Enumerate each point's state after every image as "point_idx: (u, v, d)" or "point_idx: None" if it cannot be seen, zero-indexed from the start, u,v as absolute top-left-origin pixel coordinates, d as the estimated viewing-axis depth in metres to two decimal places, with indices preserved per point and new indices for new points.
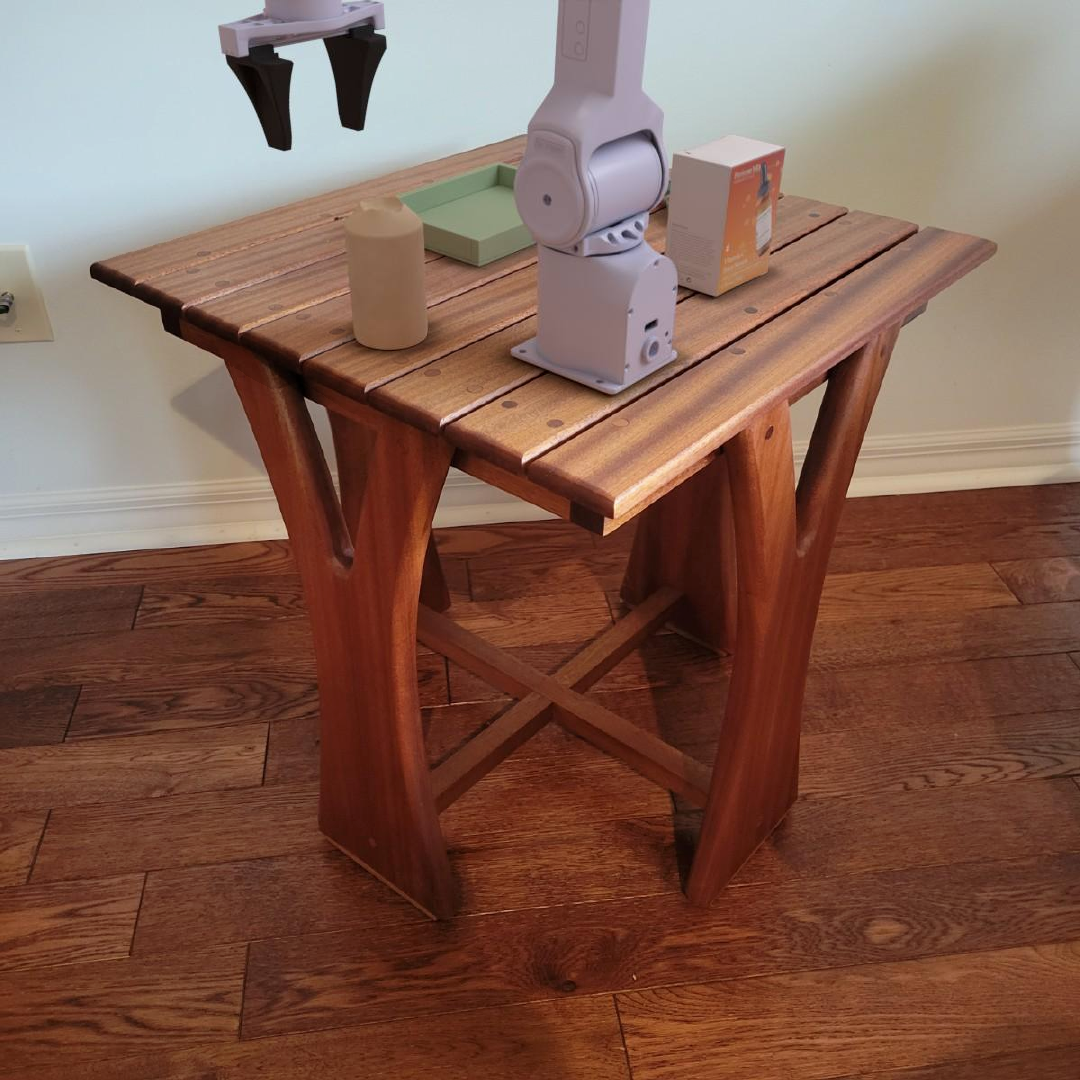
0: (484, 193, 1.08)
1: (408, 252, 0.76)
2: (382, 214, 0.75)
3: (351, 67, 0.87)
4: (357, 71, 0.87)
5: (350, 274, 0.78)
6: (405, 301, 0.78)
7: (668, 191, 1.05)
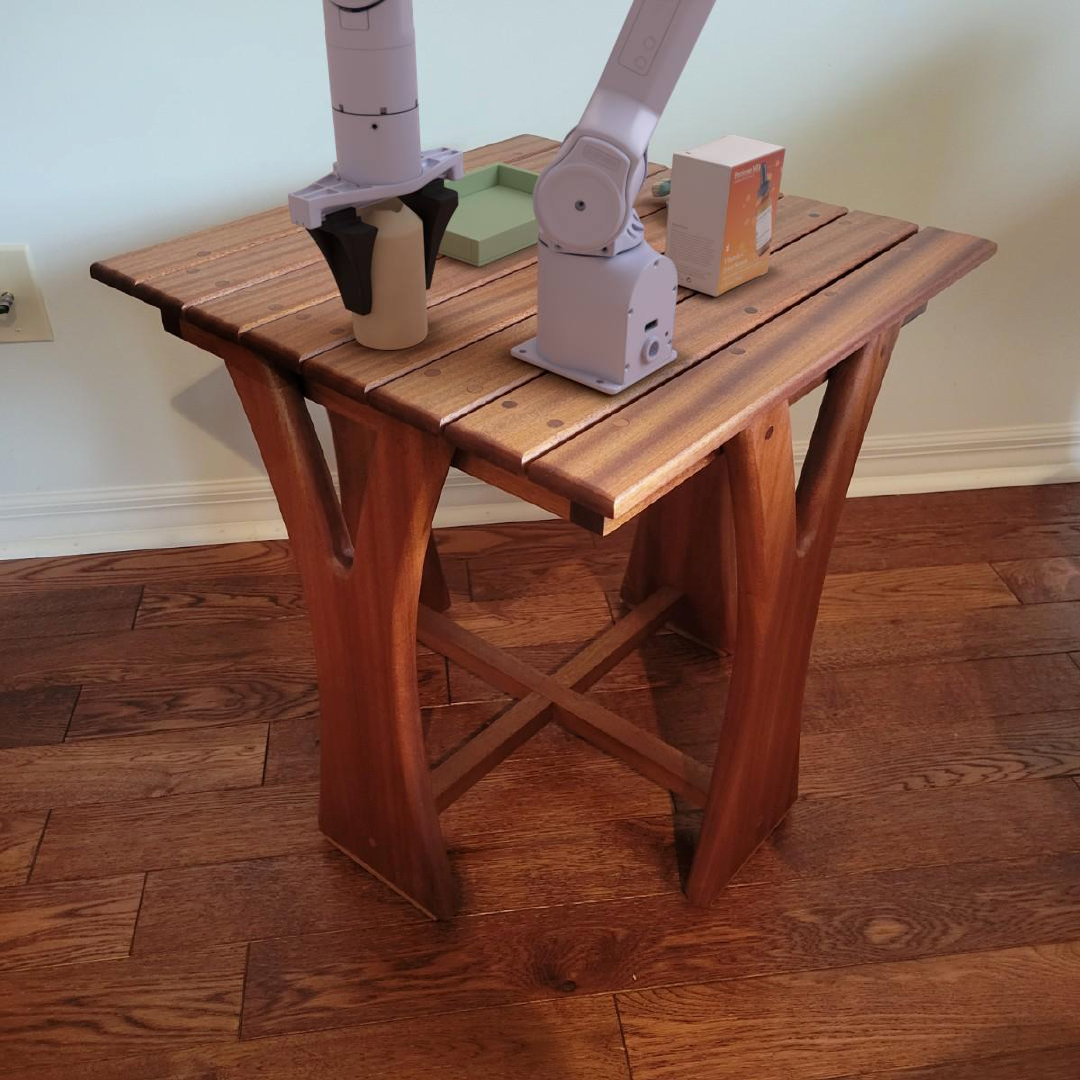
0: (484, 193, 1.08)
1: (408, 252, 0.76)
2: (382, 214, 0.75)
3: None
4: (425, 230, 0.79)
5: None
6: (405, 302, 0.78)
7: (668, 191, 1.05)
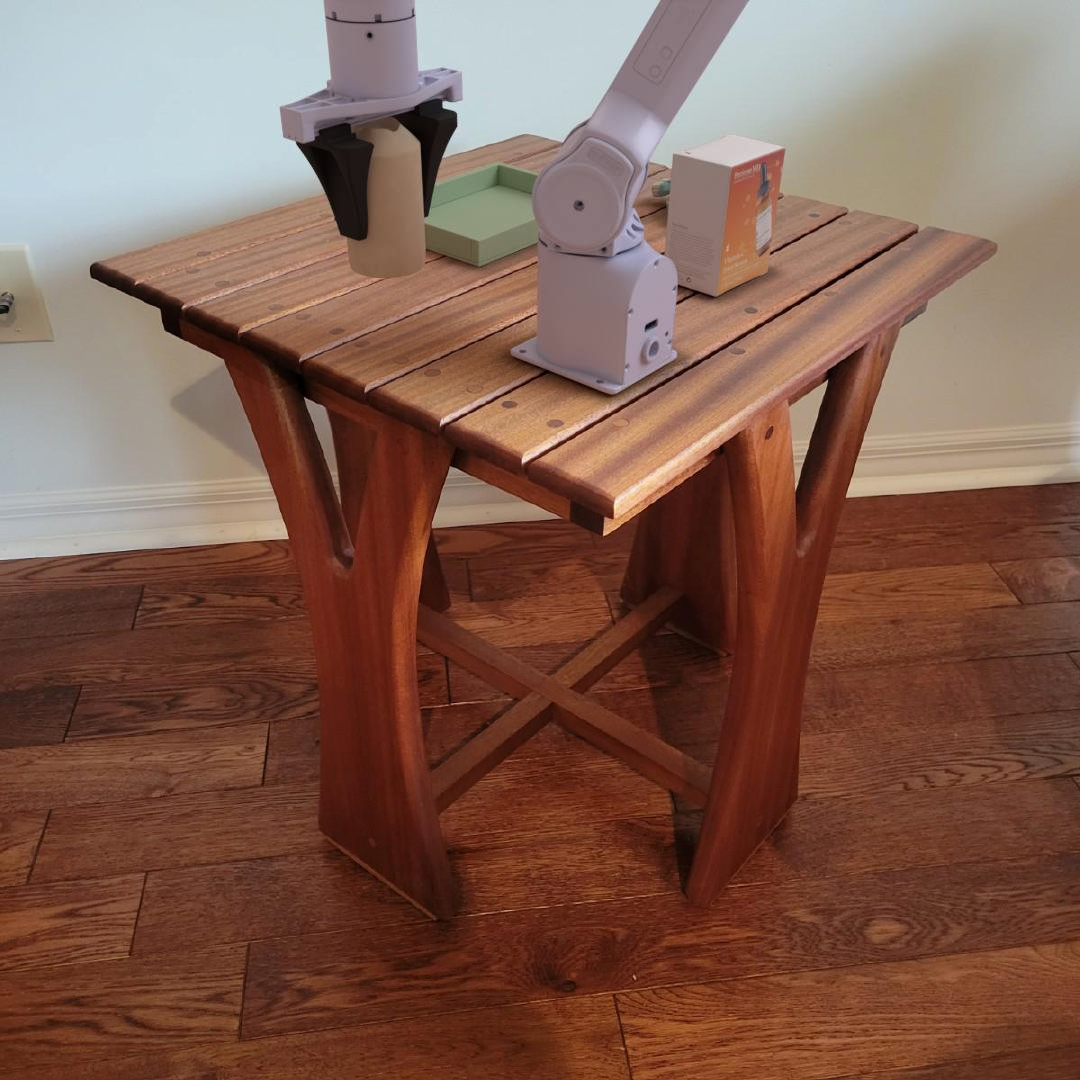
0: (484, 193, 1.08)
1: (405, 173, 0.73)
2: (378, 132, 0.72)
3: None
4: (423, 152, 0.76)
5: None
6: (402, 226, 0.75)
7: (668, 191, 1.05)
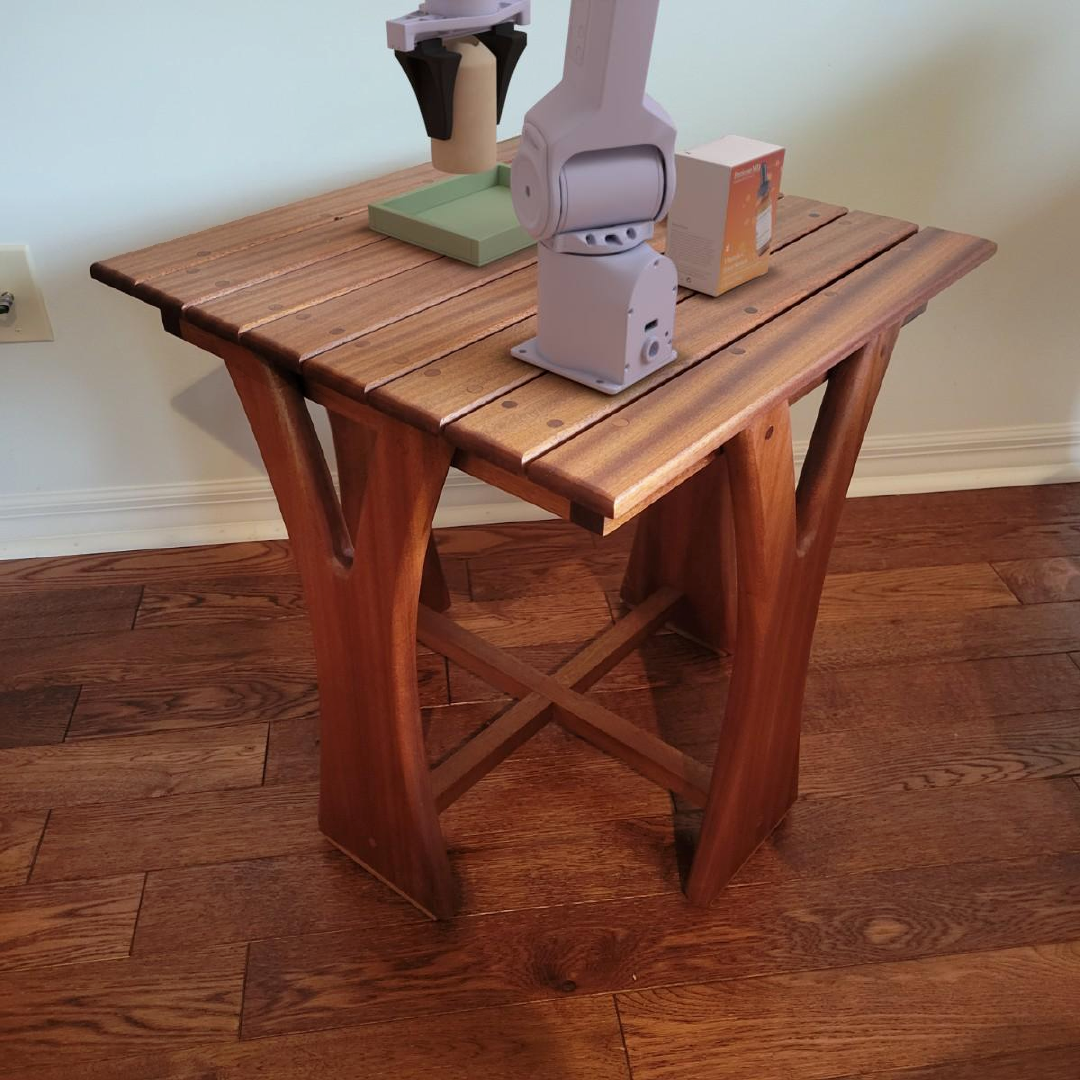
0: (484, 193, 1.08)
1: (484, 82, 0.87)
2: (462, 46, 0.86)
3: None
4: (498, 67, 0.90)
5: None
6: (480, 129, 0.89)
7: None
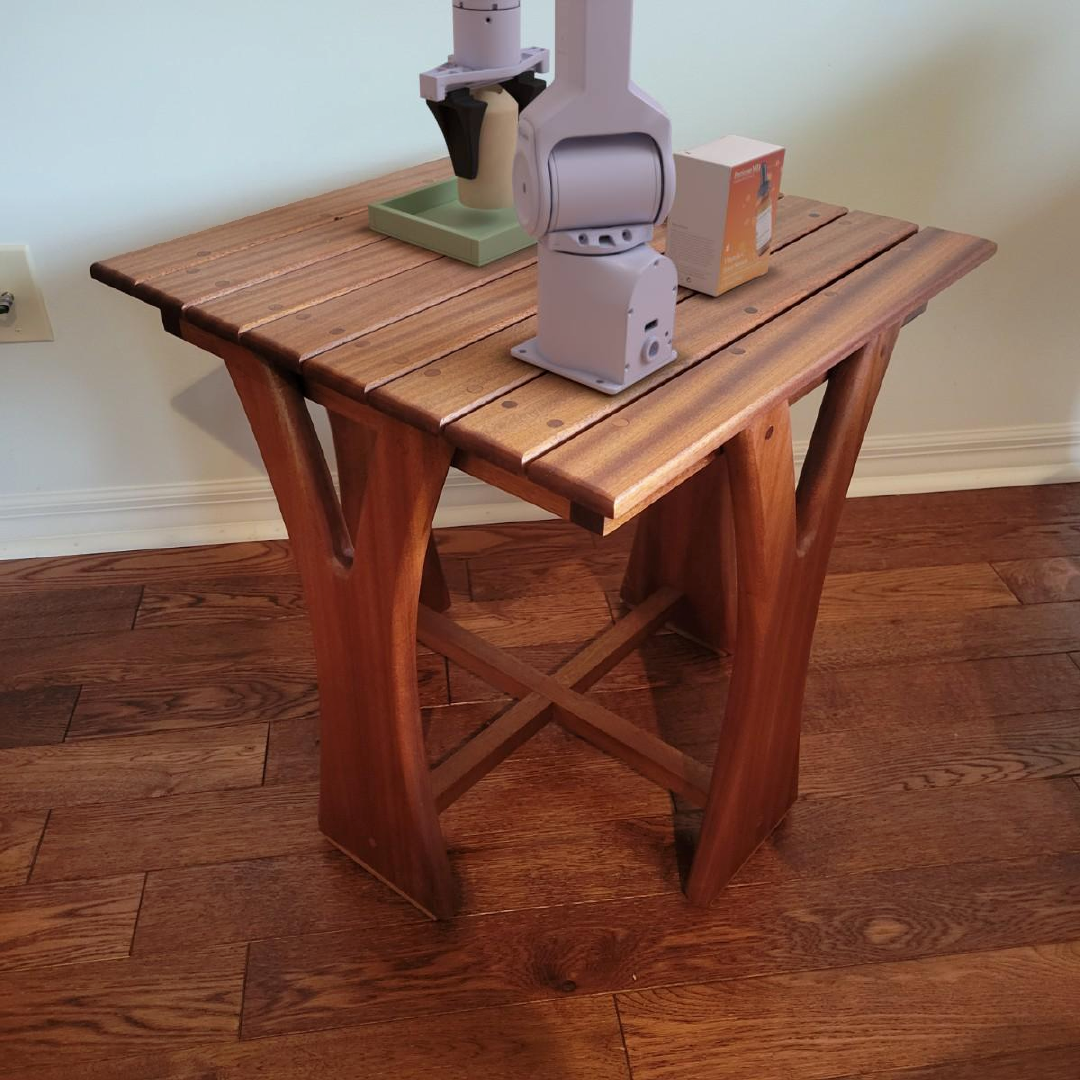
0: None
1: (507, 126, 0.95)
2: (488, 94, 0.94)
3: None
4: (519, 112, 0.98)
5: None
6: (503, 168, 0.97)
7: None
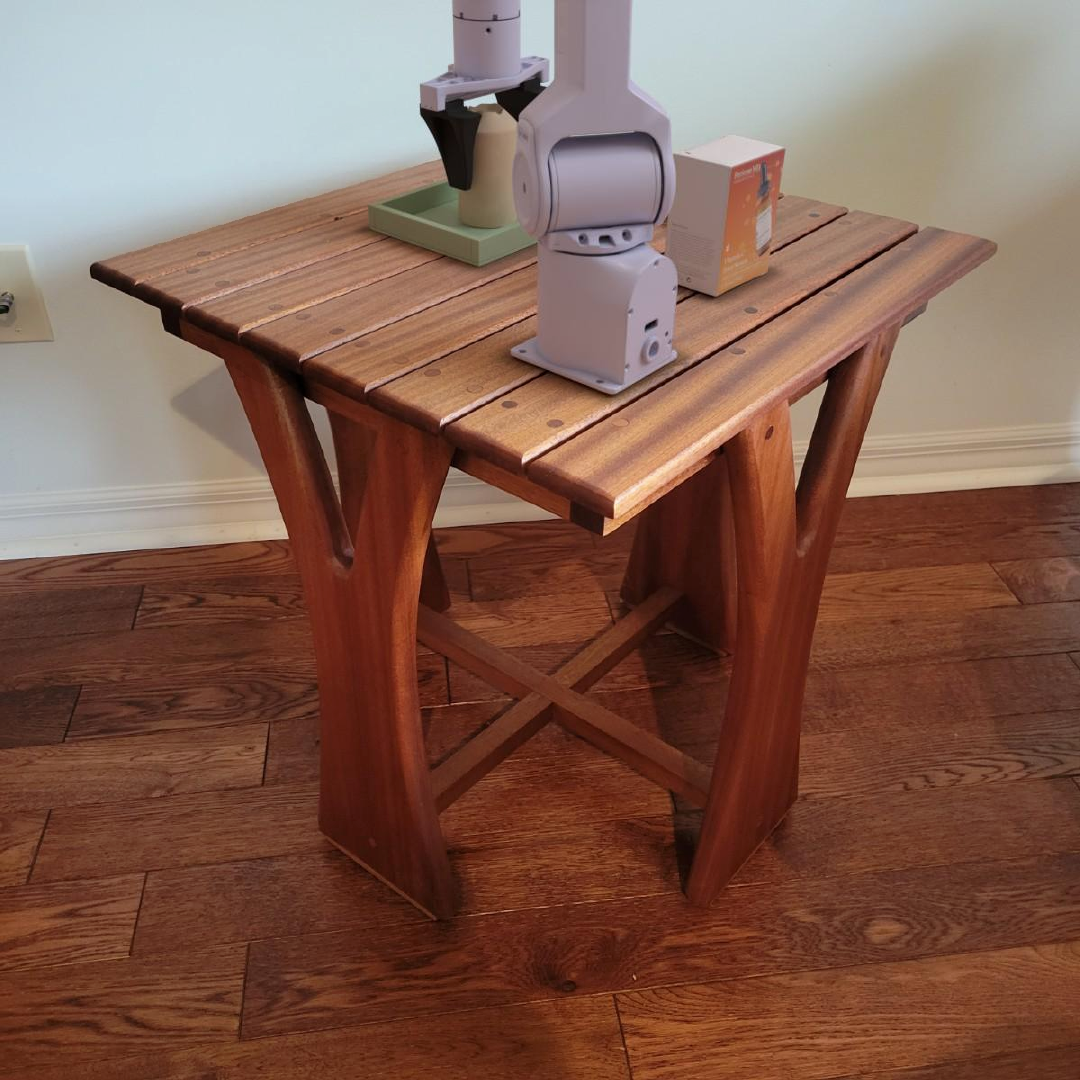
0: None
1: (507, 146, 0.96)
2: (488, 115, 0.95)
3: None
4: None
5: None
6: (503, 187, 0.98)
7: None
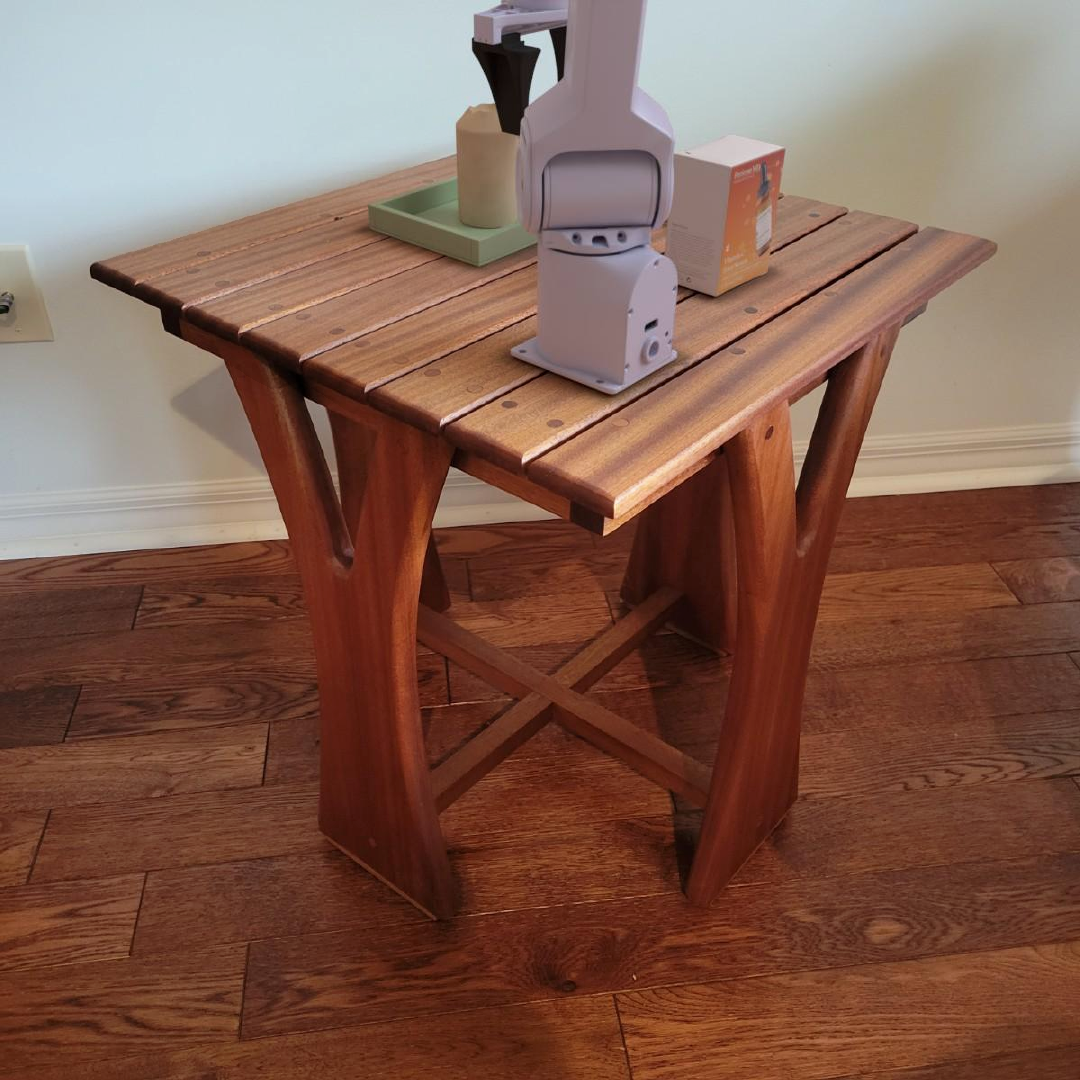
0: None
1: (507, 146, 0.96)
2: (488, 115, 0.95)
3: None
4: None
5: (459, 165, 0.98)
6: (503, 187, 0.98)
7: None
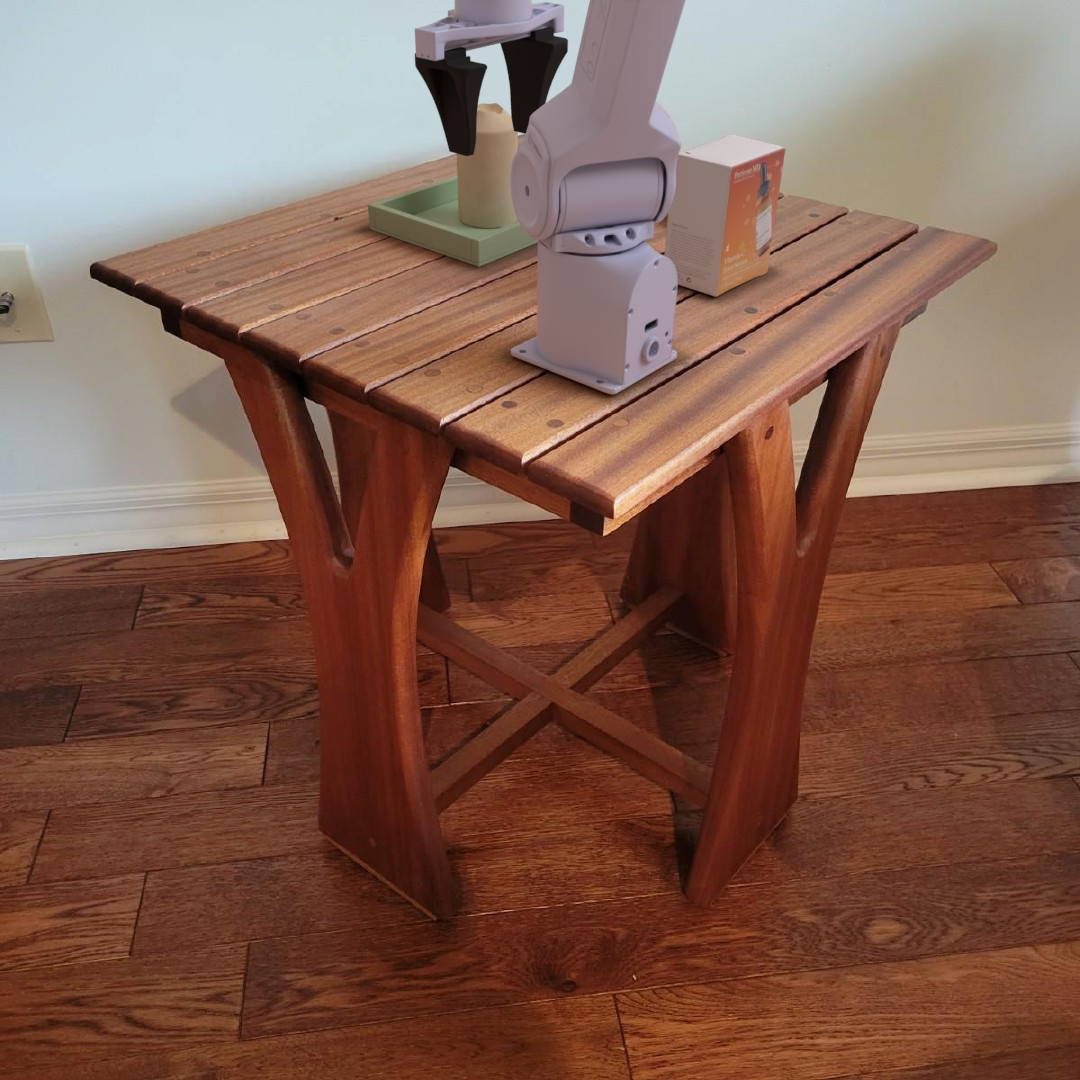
0: None
1: (507, 146, 0.96)
2: (488, 115, 0.95)
3: (530, 71, 0.86)
4: (537, 75, 0.86)
5: (459, 165, 0.98)
6: (503, 187, 0.98)
7: None
